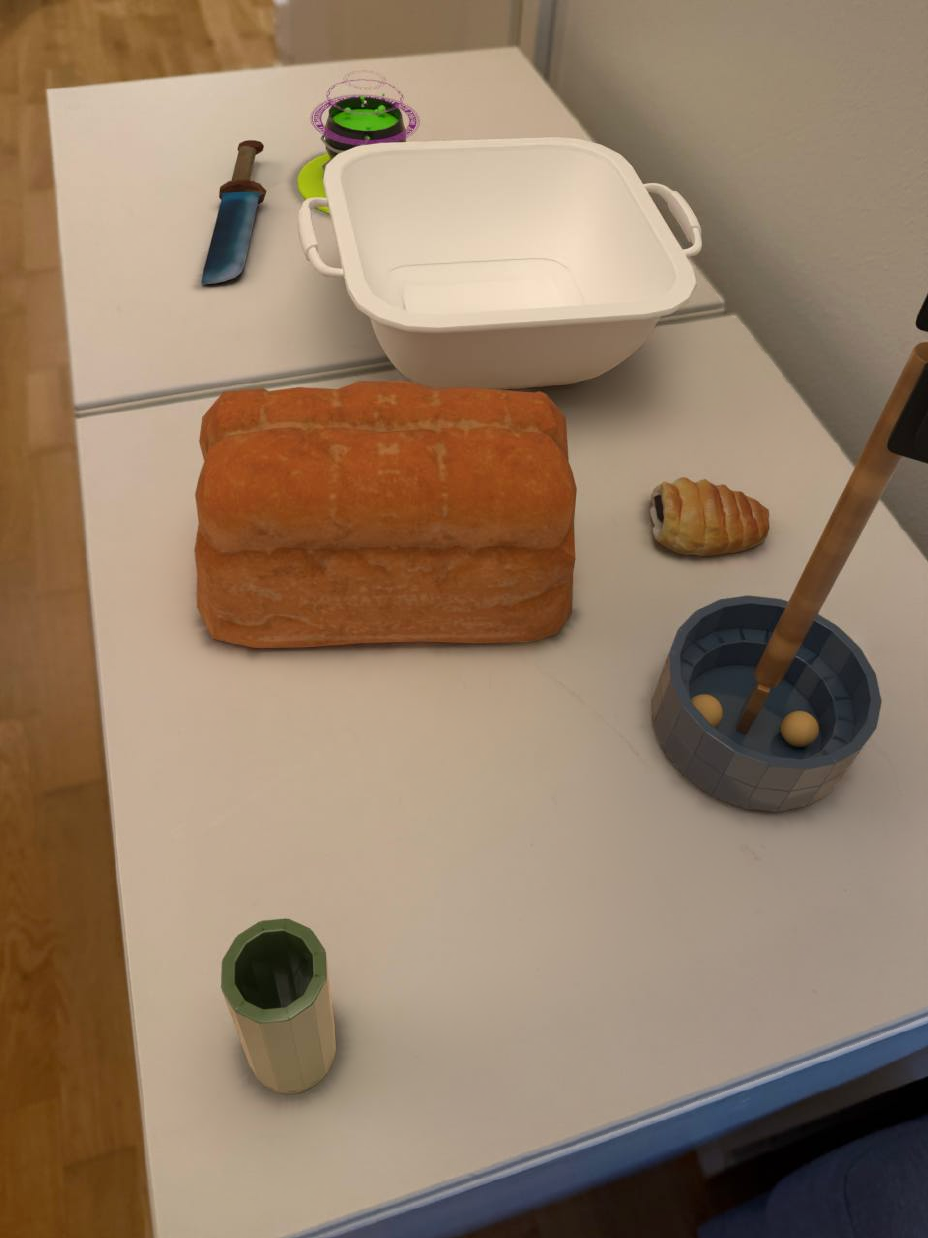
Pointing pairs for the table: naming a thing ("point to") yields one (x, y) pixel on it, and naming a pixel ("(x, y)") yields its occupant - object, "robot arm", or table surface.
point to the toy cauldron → (353, 132)
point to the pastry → (706, 518)
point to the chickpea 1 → (709, 708)
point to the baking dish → (503, 257)
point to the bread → (384, 516)
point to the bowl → (762, 760)
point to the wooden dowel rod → (833, 544)
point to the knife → (234, 218)
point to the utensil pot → (281, 1003)
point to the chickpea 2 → (799, 729)
